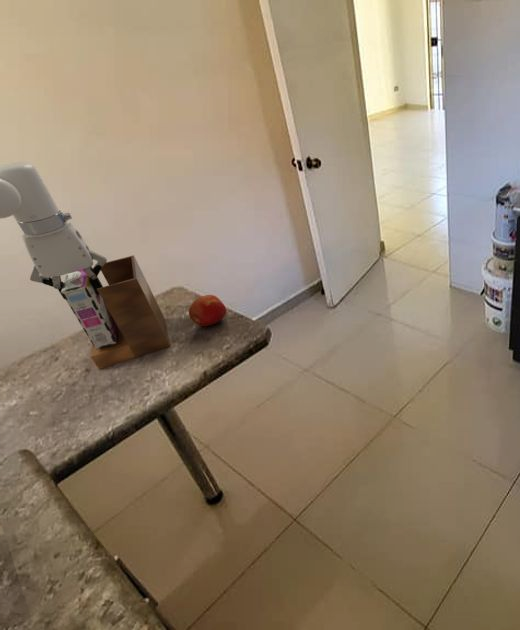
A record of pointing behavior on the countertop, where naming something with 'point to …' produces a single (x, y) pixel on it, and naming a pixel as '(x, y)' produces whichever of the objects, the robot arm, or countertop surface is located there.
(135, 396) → the countertop surface
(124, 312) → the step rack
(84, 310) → the candy bar box
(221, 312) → the apple
